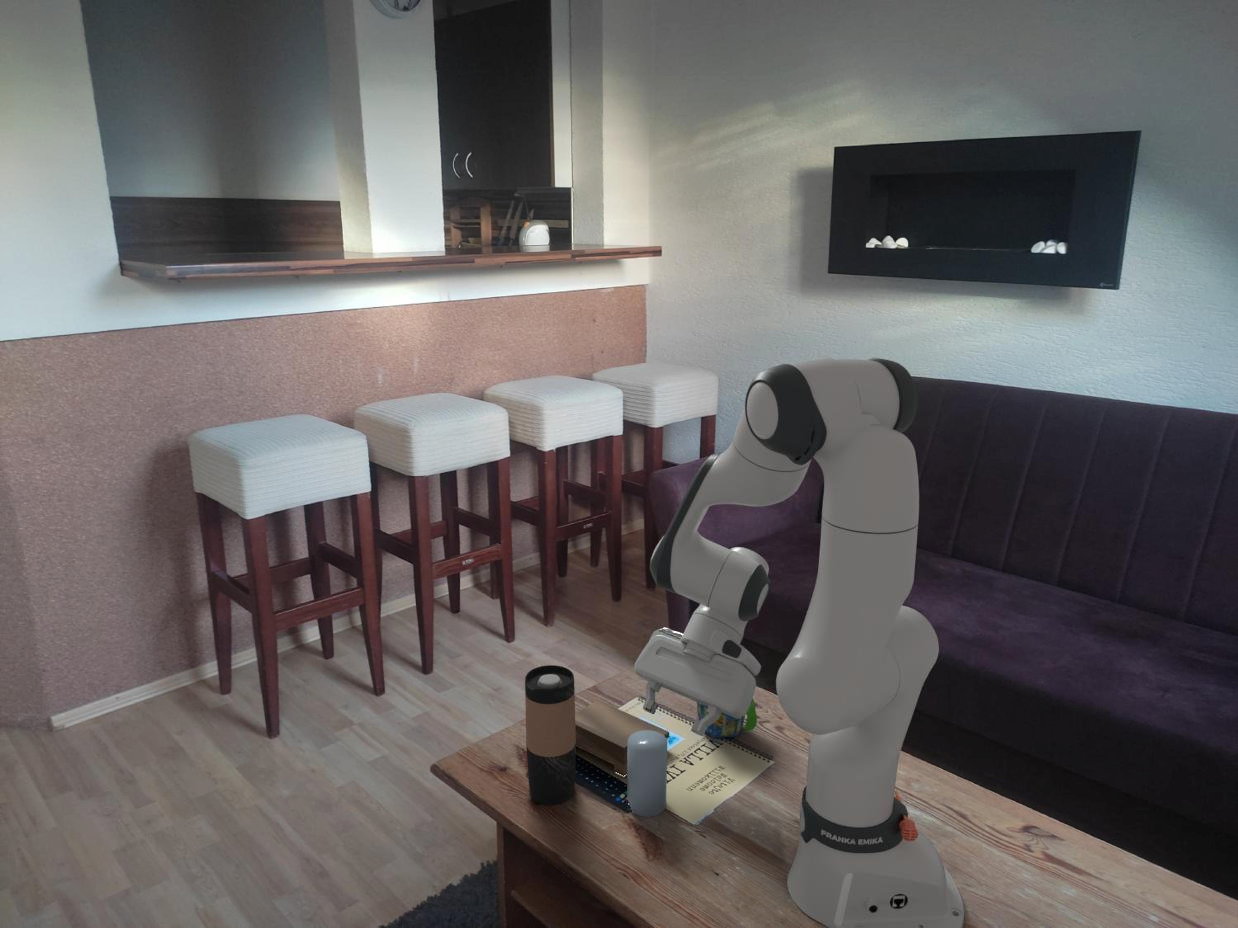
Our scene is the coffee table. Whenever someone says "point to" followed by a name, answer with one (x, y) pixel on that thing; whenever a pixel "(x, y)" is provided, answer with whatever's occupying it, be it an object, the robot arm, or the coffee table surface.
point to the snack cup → (728, 722)
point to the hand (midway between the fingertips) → (671, 722)
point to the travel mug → (550, 733)
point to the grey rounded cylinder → (647, 773)
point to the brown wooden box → (609, 732)
